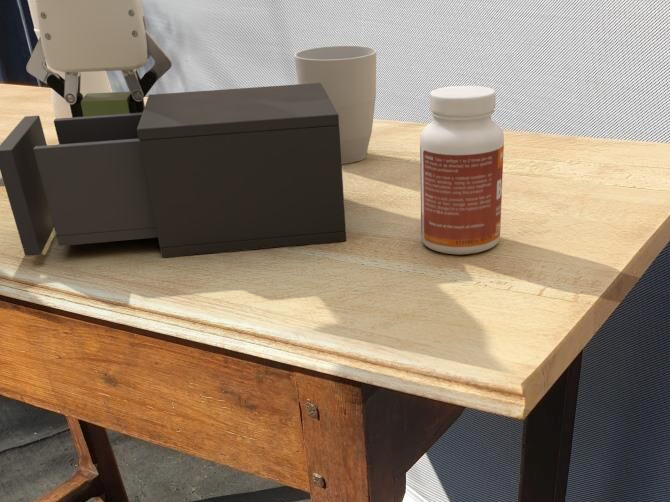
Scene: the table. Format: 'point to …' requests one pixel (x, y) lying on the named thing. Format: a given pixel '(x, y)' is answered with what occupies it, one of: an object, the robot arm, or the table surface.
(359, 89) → the cup
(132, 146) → the grey drawer with handle
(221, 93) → the dark grey box
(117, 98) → the block
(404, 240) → the table surface
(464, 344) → the table surface
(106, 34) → the robot arm
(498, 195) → the pill bottle
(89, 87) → the water bottle
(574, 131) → the table surface
